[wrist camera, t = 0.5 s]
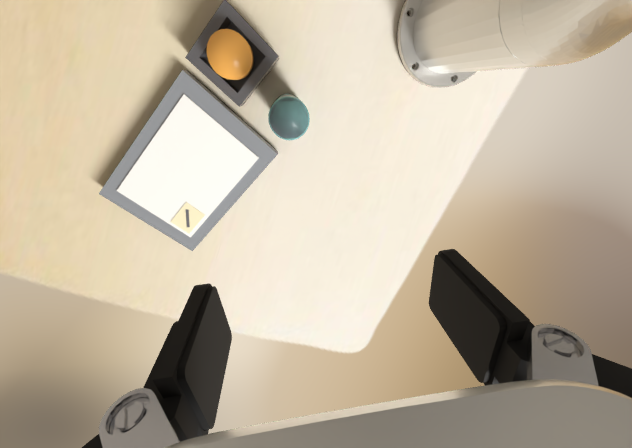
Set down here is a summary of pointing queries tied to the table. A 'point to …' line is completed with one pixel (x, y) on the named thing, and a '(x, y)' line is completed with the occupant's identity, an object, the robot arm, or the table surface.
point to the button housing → (261, 51)
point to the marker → (288, 117)
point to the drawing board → (188, 164)
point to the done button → (230, 54)
